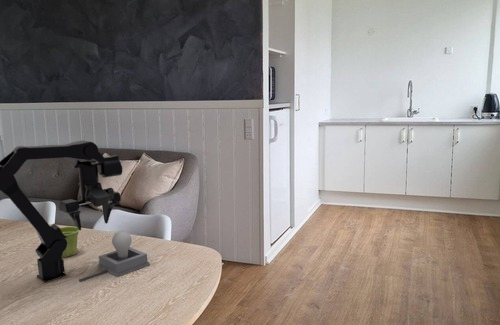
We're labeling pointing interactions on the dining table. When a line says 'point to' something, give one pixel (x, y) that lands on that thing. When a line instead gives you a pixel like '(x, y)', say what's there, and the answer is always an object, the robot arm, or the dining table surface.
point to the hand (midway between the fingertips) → (93, 226)
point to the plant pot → (70, 240)
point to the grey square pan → (120, 263)
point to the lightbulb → (122, 244)
